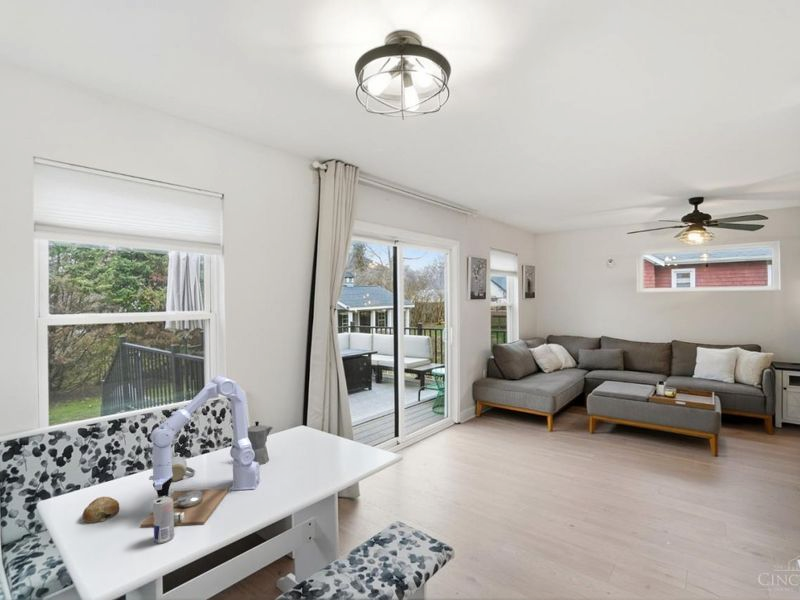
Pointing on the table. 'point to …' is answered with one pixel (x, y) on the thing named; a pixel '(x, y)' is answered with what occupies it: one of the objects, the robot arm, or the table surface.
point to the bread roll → (101, 510)
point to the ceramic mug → (180, 469)
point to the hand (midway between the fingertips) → (163, 501)
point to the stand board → (193, 508)
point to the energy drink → (163, 519)
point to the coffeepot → (259, 442)
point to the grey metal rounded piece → (188, 499)
